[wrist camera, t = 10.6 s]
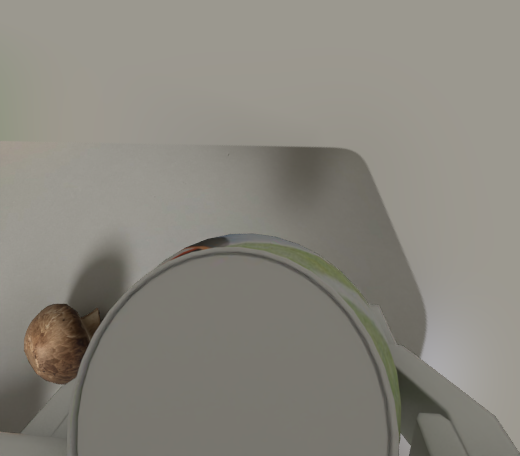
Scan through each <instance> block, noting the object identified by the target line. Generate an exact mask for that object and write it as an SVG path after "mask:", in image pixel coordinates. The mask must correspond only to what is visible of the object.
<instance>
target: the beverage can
mask: <svg viewBox="0 0 520 456" xmlns="http://www.w3.org/2000/svg"><path fill="white" fill-rule="evenodd" d="M400 427H401V399H400V391H399V384H398V376H397V370H396V367H395V363H394V360H393V357H392V353H391V350H390V347H389V343H388V340H387V338H386V336H385V334H384V332H383V330H382V328H381V325H380V323H379V321H378V319H377V317H376V315H375V313H374V312H373V310H372V309H371V307H370V306H369V304H368V303H367V302H366V300H365V299H364V297H363V296H362V294H361V293H360V291H359V290H358V289H357V288H356V287H355V286H354V285H353V284H352V283H351V282H350V281H349V280H348V278H347V277H346V276H345V275H344V274H343V273H342V272H341V271H340V270H338V269H337V268H336V267H335V266H333V265H332V264H331V263H329V262H328V261H327V260H325V259H324V258H323V257H321V256H320V255H318V254H316V253H314V252H312V251H310V250H308V249H307V248H305V247H303V246H301V245H299V244H296V243H293V242H290V241H287V240H284V239H281V238H277V237H273V236H266V235H259V234H230V235H225V236H220V237H215V238H210V239H207V240H204V241H201V242H199V243H196V244H194V245H191V246H189V247H186V248H184V249H183V250H181V251H179V252H178V253H176V254H174V255H173V256H171V257H169V258H168V259H166V260H165V261H163V262H162V263H161V264H160V265H159V266H157V267H156V268H155V269H154V270H153V271H151V272H149V273H148V274H146V275H145V276H144V277H143V278H141V279H140V280H139V281H138V282H137V283H135V284H134V285H133V286H132V287H131V288H129V289H128V290H127V291H126V292H125V293H124V294H123V296H122V297H121V298H120V299H119V300H118V301H117V302H116V303H115V305H114V306H113V307H112V308H111V309H110V310H109V312H108V313H107V315H106V316H105V318H104V319H103V321H102V322H101V324H100V326H99V327H98V329H97V330H96V332H95V333H94V335H93V337H92V339H91V341H90V344H89V346H88V348H87V350H86V352H85V354H84V356H83V359H82V361H81V364H80V367H79V371H78V374H77V377H76V380H75V384H74V387H73V391H72V397H71V403H70V409H69V415H68V424H67V456H399V443H400Z"/></svg>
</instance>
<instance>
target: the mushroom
mask: <svg viewBox="0 0 520 456" xmlns="http://www.w3.org/2000/svg"><path fill="white" fill-rule="evenodd" d="M99 326H100V315H99V309H98V308H96V309H95V310H93V311H92V312H91V313H89V314H88V315H86V316H84V317H80V316H79V314H78V312H77V311H75V310H74V309H73V308H71V307H70V306H68V305H67V304H53V305H50V306H47V307H46V308H44V309H43V310H42V311H41V312H40V313H39V314H38V315H37V316H36V317H35V318H34V319H33V320H32V322H31V323H30V325H29V327H28V329H27V331H26V335H25V339H24V351H25V354H26V356H27V358H28V361H29V363H30V364H31V366H32V367H33V369H34V370H35V372H36V373H37V374H38V375H39V376H40V377H42V378H43V379H44V380H46V381H49V382H53V383H56V384H67V383H68V382H70V381H71V380H73V379H75V378H76V377H77V374H78V371H79V367H80V364H81V361H82V359H83V356H84V354H85V352H86V350H87V348H88V346H89V344H90V341H91V339H92V337H93V335H94V333H95V332H96V330H97V329H98V327H99Z"/></svg>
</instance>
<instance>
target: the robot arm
mask: <svg viewBox="0 0 520 456" xmlns="http://www.w3.org/2000/svg"><path fill="white" fill-rule="evenodd" d="M369 306H370V307H371V309H372V310H373V312H374V313H375V315H376V317H377V319H378V321H379V323H380V325H381V328H382V330H383V332H384V334H385V336H386V338H387V340H388V343H389V347H390V350H391V353H392V357H393V360H394V363H395V367H396V370H397V376H398V384H399V391H400V399H401V427H400V433H401V434H402V435H403V436H404V438H405V439H406V440H407V441H408V443H409V444H410V445H411V449H410V454H409V456H520V453H519V451H518V450H517V448H516V447H515V446H514V444H513V442H512V441H511V439H510V438H509V436H508V435H507V433H506V432H505V430H504V429H503V427H502V426H501V424H500V423H499V421H498V420H497V418H496V417H495V416H494V415H493V414H492V413H490V412H489V411H488V410H486V409H485V408H484V407H483V406H481V405H480V404H479V403H477V402H476V401H475V400H473V399H472V398H471V397H469V396H468V395H467V394H466V393H464V392H463V391H462V390H460V389H459V388H458V387H456V386H455V385H454V384H453V383H451V382H450V381H449V380H447V379H446V378H445V377H443V376H442V375H441V374H440V373H438V372H437V371H436V370H434V369H433V368H432V367H430V366H429V365H428V364H426V363H425V362H424V361H423V360H421V359H420V358H419V357H417V356H416V355H415V354H413V353H412V352H411V351H409V350H408V349H407V348H406V347H404V346H403V345H397V344H396V342H395V339H394V337H393V335H392V333H391V330H390V328H389V326H388V323H387V321H386V319H385V317H384V314H383V312H382V310H381V307H380V306H379V305H378V304H372V305H369ZM75 380H76V378H75V379H73V380H71V381H70V382H68V383H67V384H65V385H64V386H62V387H61V388H60V389H59V390H58V391H57V392H56V393H55V394H54V396H53V397H52V398H51V399H50V400H49V401H48V402H47V403H46V405H45V406H44V407H43V408H42V409H41V410H40V411H39V412H38V414H37V415H36V416H35V417H34V418H33V419H32V420H31V421H30V423H29V424H28V425H27V426H26V427H25V428H24V429H23V430H22V432H21V433H20V434H18V433H9V432H0V456H67V424H68V415H69V409H70V403H71V397H72V391H73V387H74V384H75Z"/></svg>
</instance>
